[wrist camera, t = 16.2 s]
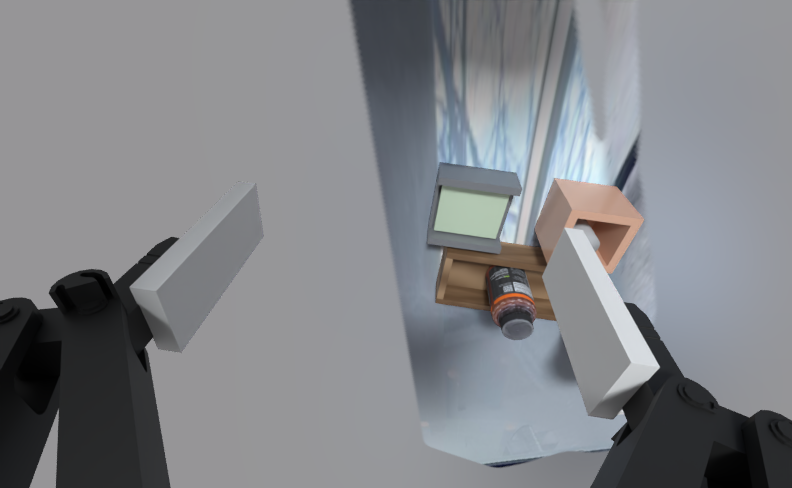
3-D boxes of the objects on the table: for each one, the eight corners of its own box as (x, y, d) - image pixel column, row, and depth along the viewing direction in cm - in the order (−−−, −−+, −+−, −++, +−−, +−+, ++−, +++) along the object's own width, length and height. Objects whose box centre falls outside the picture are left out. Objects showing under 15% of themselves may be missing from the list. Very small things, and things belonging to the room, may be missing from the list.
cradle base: (439, 162, 47) (439, 177, 43) (516, 172, 47) (522, 188, 43) (428, 225, 53) (427, 243, 49) (495, 235, 53) (499, 254, 49)
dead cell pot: (554, 178, 47) (572, 209, 40) (616, 186, 46) (644, 219, 40) (534, 229, 51) (547, 264, 45) (590, 236, 51) (611, 273, 45)
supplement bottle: (502, 293, 58) (513, 351, 49) (476, 273, 56) (483, 330, 47) (533, 273, 55) (551, 331, 46) (507, 251, 53) (520, 307, 44)
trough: (447, 234, 53) (447, 252, 50) (582, 253, 53) (592, 273, 49) (435, 283, 59) (435, 303, 56) (557, 301, 59) (564, 322, 55)
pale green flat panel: (443, 178, 46) (443, 182, 45) (510, 187, 46) (511, 191, 45) (433, 226, 51) (433, 230, 50) (494, 234, 50) (495, 238, 50)
